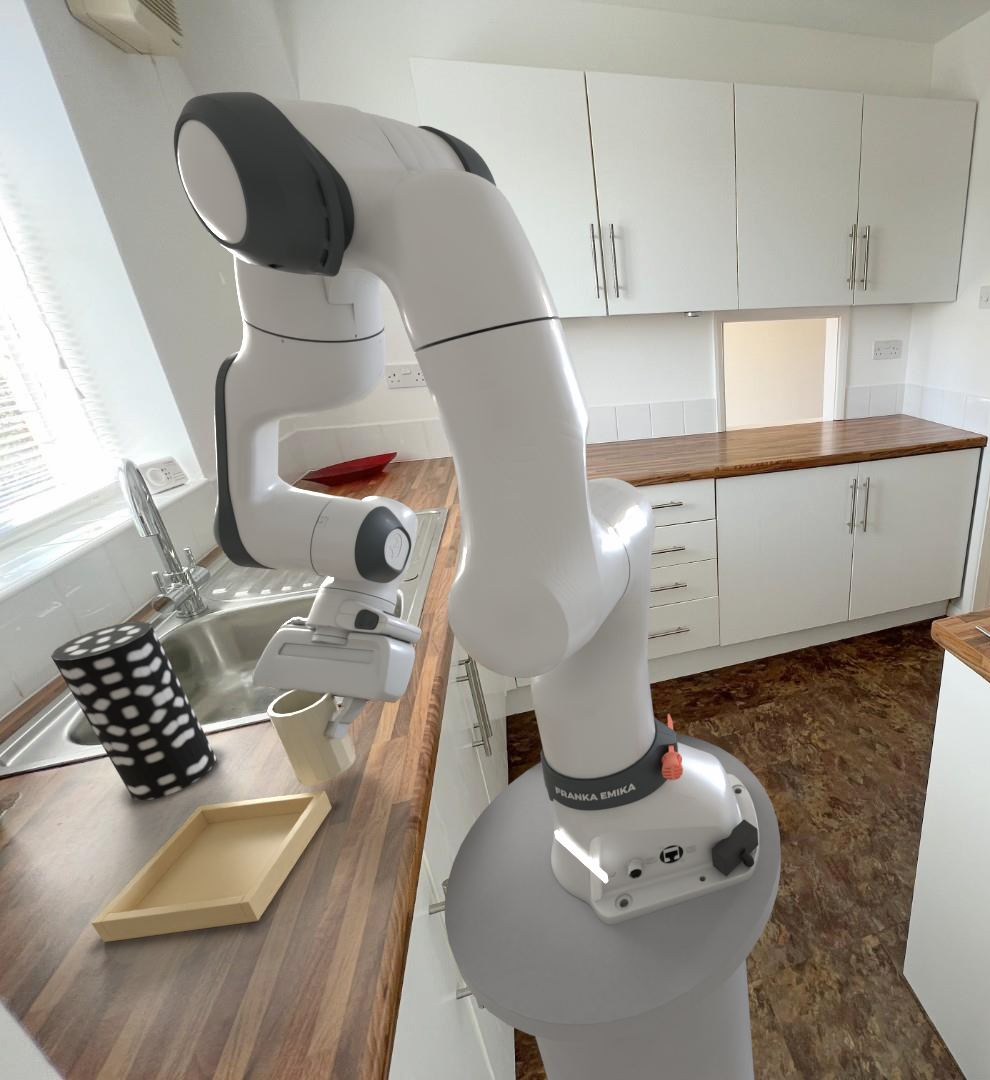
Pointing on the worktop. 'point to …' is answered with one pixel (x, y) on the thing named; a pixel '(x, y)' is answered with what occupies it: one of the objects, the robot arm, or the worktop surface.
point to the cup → (310, 736)
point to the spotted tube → (136, 708)
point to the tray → (216, 867)
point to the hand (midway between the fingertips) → (308, 734)
